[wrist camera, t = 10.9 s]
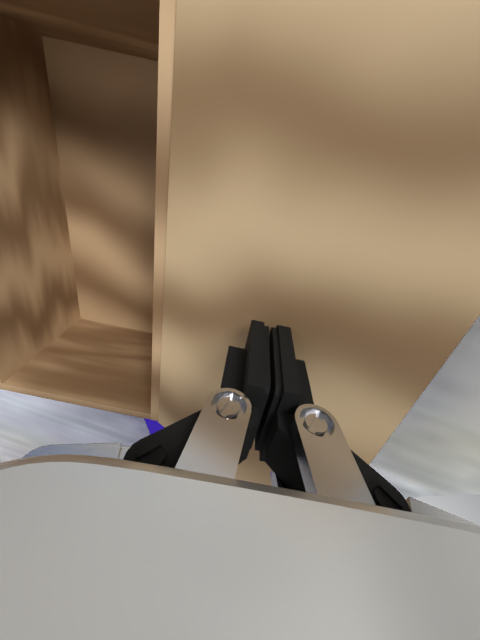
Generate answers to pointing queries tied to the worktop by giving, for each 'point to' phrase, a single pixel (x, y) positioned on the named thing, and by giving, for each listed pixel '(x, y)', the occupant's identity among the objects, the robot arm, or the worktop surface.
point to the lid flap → (323, 200)
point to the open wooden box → (84, 199)
